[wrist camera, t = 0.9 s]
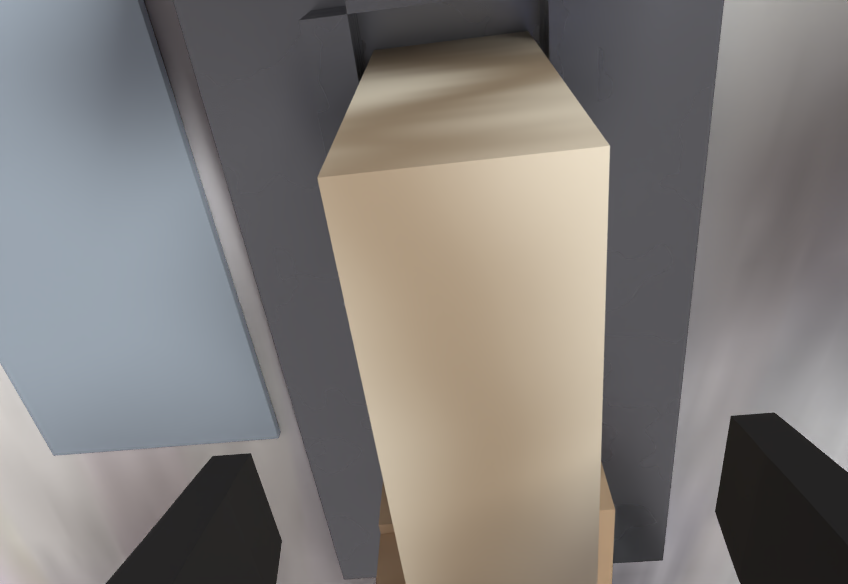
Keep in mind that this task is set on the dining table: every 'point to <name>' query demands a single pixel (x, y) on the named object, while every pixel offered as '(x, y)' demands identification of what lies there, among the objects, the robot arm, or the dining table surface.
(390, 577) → the offcuts
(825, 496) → the robot arm
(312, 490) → the dining table surface
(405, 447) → the block
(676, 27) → the rack
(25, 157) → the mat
